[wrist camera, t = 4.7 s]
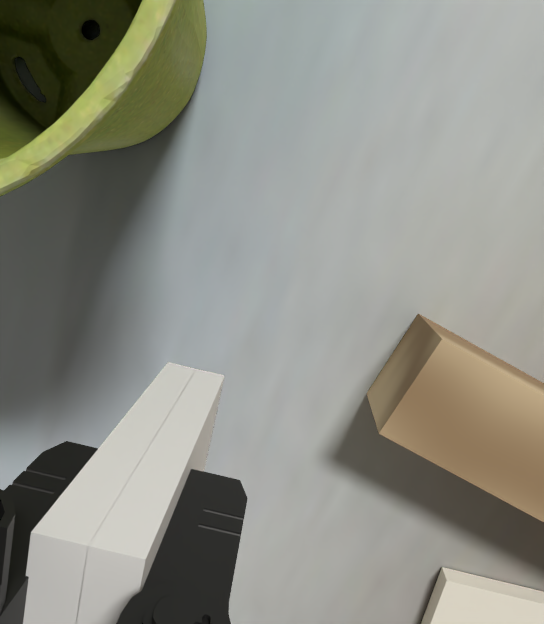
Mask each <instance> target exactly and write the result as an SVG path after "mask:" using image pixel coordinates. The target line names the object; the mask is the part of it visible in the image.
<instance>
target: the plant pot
mask: <svg viewBox="0 0 544 624" xmlns="http://www.w3.org/2000/svg"><path fill="white" fill-rule="evenodd" d="M88 20H95V21H96V22H97V23H98V24H99V27H100V34H99V36H98V37H96V38H95V39H94V40H88V39H85V37H84V36H83V34H82V26H83V24H84V23H85V22H86V21H88ZM206 39H207V32H206V18H205V10H204V3H203V0H0V196H3V195H5V194H7V193H9V192H11V191H13V190H15V189H17V188H19V187H21V186H23V185H25V184H26V183H28V182H30V181H31V180H33V179H35V178H36V177H38V176H39V175H41V174H43V173H44V172H46V171H47V170H49V169H50V168H52V167H53V166H54V165H56V164H57V163H58V162H60V161H61V160H62V159H64V158H65V157H66V156H68V155H72V154H81V153H90V152H99V151H106V150H113V149H120V148H125V147H128V146H132V145H136V144H139V143H141V142H144V141H146V140H148V139H149V138H151V137H153V136H154V135H156V134H157V133H159V132H160V131H162V130H163V129H164V128H165V127H167V126H168V125H169V124H170V123H171V122H172V121H173V120H174V119H175V118H176V117H177V116H178V115H179V113H180V112H181V111H182V110H183V108H184V107H185V106H186V104H187V103H188V101H189V99H190V97H191V96H192V94H193V92H194V89H195V87H196V84H197V81H198V78H199V75H200V72H201V68H202V64H203V59H204V54H205V47H206ZM19 56H20V57H21V58H23V59H24V60H25V62H26V65H27V68H28V69H29V71H30V73H31V75H32V77H33V79H34V81H35V82H36V84H37V86H38V87H39V88H40V89H41V94H42V95H44V96H45V97H46V102H45V103H44V102H41V101H39V100H37V99H36V98H35V97H34V96H33V95H32V94H31V93H30V92H28V91H27V89H26V88H25V87H24V85H23V84H22V83H21V81H20V79H19V76H18V74H17V72H16V67H15V58H17V57H19Z"/></svg>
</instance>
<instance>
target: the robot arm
mask: <svg viewBox="0 0 544 624" xmlns="http://www.w3.org/2000/svg"><path fill="white" fill-rule="evenodd" d="M224 377H225V375H220V374H216V373H212V372H208V371H203V370H199V369H195V368H191V367H186V366H182V365H178V364H174V363H169V362H168V363H167V364H166V365H165V367H164V368H163V369H162V370H161V372H160V373H159V374H158V375H157V377H156V378H155V379H154V380H153V382H152V383H151V384H150V385H149V386H148V388H147V389H146V390H145V391H144V393H143V394H142V395H141V396H140V398H139V399H138V400H137V401H136V403H135V404H134V405H133V406H132V408H131V409H130V410H129V411H128V413H127V414H126V415H125V416H124V417H123V419H122V420H121V421H120V422H119V424H118V425H117V426H116V427H115V429H114V430H113V431H112V432H111V434H110V435H109V436H108V437H107V439H106V440H105V441H104V442H103V444H102V445H101V446H100V447H99V448H93V447H89V446H85V445H81V444H76V443H72V442H68V441H66V442H64V443H61V444H59V445H57V446H55V447H53V448H51V449H48V450H46V451H44V452H42V453H41V454H40V455H39V456H38V457H37V458H36V459H35V460H34V461H33V462H32V463H31V464H30V465H29V466H28V467H27V469H26V471H23V472H22V473H21V474H20V475H19V476H18V477H17V478H16V479H15V480H14V481H13V484H12V485H9V486H8V487H7V488H6V489H5V490H4V491H3V490H1V489H0V624H231V622H230V618H229V614H228V610H229V598H230V592H231V586H232V581H233V575H234V570H235V564H236V559H237V553H238V548H239V542H240V536H241V531H242V525H243V519H244V514H245V509H246V503H247V496H246V494H245V491H244V489H243V486H242V484H241V482H240V480H237V479H232V478H228V477H224V476H220V475H216V474H211V473H207V472H204V469H205V465H206V460H207V455H208V451H209V446H210V441H211V437H212V432H213V428H214V423H215V418H216V414H217V409H218V404H219V400H220V395H221V391H222V386H223V381H224Z"/></svg>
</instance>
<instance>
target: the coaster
mask: <svg viewBox="0 0 544 624" xmlns="http://www.w3.org/2000/svg"><path fill="white" fill-rule="evenodd" d="M421 624H544V592H543V591H539V590H534V589H530V588H526V587H522V586H518V585H514V584H510V583H505V582H501V581H497V580H493V579H489V578H485V577H481V576H476V575H472V574H468V573H464V572H460V571H456V570H452V569H448V568H443V567H442V568H441V571H440V574H439V576H438V579H437V582H436V584H435V587H434V590H433V593H432V595H431V598H430V601H429V603H428V606H427V609H426V611H425V614H424V617H423V619H422V622H421Z"/></svg>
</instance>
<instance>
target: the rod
mask: <svg viewBox="0 0 544 624" xmlns="http://www.w3.org/2000/svg"><path fill="white" fill-rule="evenodd" d="M367 397H368V400H369V403H370V407H371V410H372V413H373V416H374V420H375V423H376V426H377V429H378V433H379V434H380V435H382V436H384V437H386V438H388V439H390V440H392V441H393V442H395V443H397V444H399V445H401V446H403V447H405V448H406V449H408V450H410V451H412V452H414V453H416V454H418V455H419V456H421V457H423V458H425V459H427V460H429V461H431V462H432V463H434V464H436V465H438V466H440V467H442V468H444V469H445V470H447V471H449V472H451V473H453V474H455V475H457V476H458V477H460V478H462V479H464V480H466V481H468V482H470V483H472V484H473V485H475V486H477V487H479V488H481V489H483V490H485V491H486V492H488V493H490V494H492V495H494V496H496V497H498V498H499V499H501V500H503V501H505V502H507V503H509V504H511V505H512V506H514V507H516V508H518V509H520V510H522V511H524V512H525V513H527V514H529V515H531V516H533V517H535V518H537V519H538V520H540V521H542V522H544V383H542V382H540V381H539V380H537V379H535V378H533V377H531V376H530V375H528V374H526V373H524V372H522V371H521V370H519V369H517V368H515V367H513V366H512V365H510V364H508V363H506V362H504V361H503V360H501V359H499V358H497V357H495V356H494V355H492V354H490V353H488V352H486V351H485V350H483V349H481V348H479V347H477V346H476V345H474V344H472V343H470V342H468V341H467V340H465V339H463V338H461V337H459V336H458V335H456V334H454V333H452V332H450V331H449V330H447V329H445V328H443V327H441V326H440V325H438V324H436V323H434V322H432V321H431V320H429V319H427V318H425V317H423V316H422V315H420V314H418V315H417V316H416V318H415V319H414V321H413V322H412V324H411V326H410V327H409V329H408V330H407V332H406V333H405V335H404V336H403V338H402V339H401V341H400V343H399V344H398V346H397V347H396V349H395V350H394V352H393V353H392V355H391V356H390V358H389V360H388V361H387V363H386V364H385V366H384V367H383V369H382V370H381V372H380V373H379V375H378V377H377V378H376V380H375V381H374V383H373V384H372V386H371V387H370V389H369V391H368V392H367Z"/></svg>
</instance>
